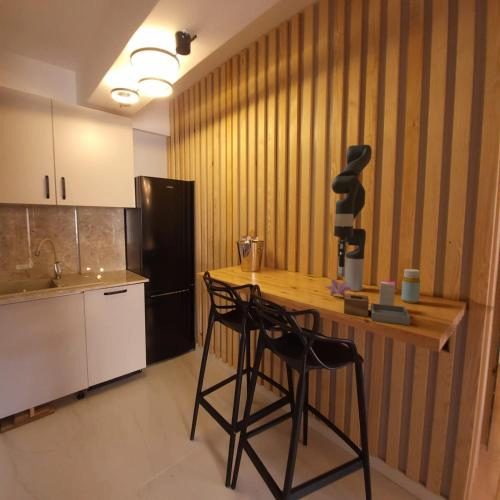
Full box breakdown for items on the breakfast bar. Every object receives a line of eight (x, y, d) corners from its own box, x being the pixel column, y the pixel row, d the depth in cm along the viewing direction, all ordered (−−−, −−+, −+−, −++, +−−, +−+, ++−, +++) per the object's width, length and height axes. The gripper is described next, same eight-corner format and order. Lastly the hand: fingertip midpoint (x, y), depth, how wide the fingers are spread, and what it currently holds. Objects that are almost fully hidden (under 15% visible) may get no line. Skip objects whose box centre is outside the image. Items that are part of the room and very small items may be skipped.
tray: (370, 309, 116) (370, 302, 115) (404, 313, 111) (404, 306, 111) (371, 320, 103) (372, 312, 103) (409, 325, 99) (410, 317, 98)
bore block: (345, 307, 119) (345, 293, 119) (367, 309, 116) (368, 295, 115) (343, 313, 111) (344, 298, 110) (367, 316, 108) (368, 301, 107)
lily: (356, 302, 130) (355, 282, 134) (344, 296, 123) (343, 276, 127) (333, 304, 138) (332, 286, 142) (321, 299, 131) (320, 280, 135)
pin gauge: (338, 274, 118) (339, 247, 117) (345, 275, 117) (346, 247, 116) (337, 276, 116) (338, 247, 114) (344, 276, 114) (345, 248, 113)
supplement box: (393, 311, 114) (395, 284, 113) (378, 308, 117) (379, 282, 116) (394, 307, 119) (395, 281, 118) (379, 305, 122) (380, 280, 121)
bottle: (397, 300, 130) (399, 269, 128) (408, 299, 132) (410, 268, 131) (411, 304, 123) (413, 271, 122) (422, 303, 126) (424, 270, 124)
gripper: (336, 225, 122) (334, 263, 124) (332, 225, 109) (330, 268, 111) (354, 225, 119) (352, 264, 121) (352, 225, 106) (350, 269, 108)
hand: (341, 266), depth 116 cm, fingers closed on pin gauge, 2 cm apart
